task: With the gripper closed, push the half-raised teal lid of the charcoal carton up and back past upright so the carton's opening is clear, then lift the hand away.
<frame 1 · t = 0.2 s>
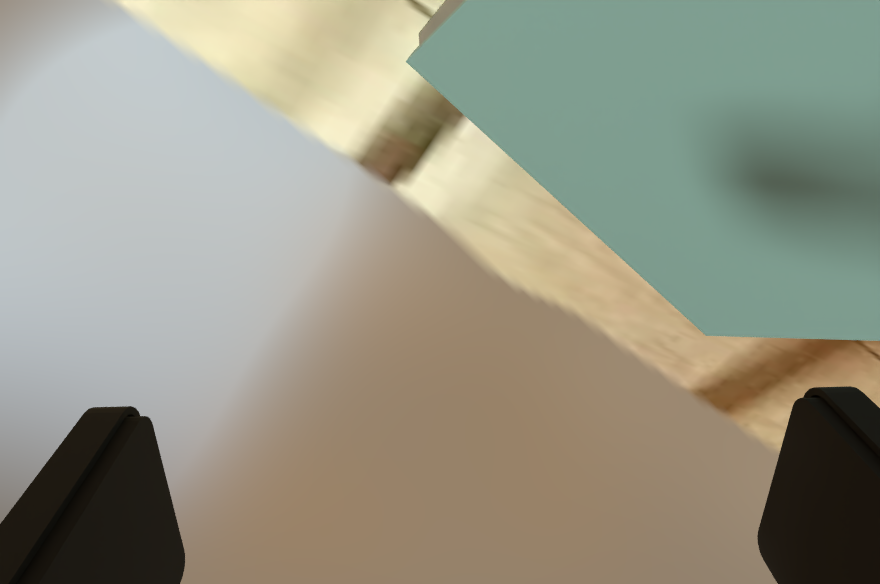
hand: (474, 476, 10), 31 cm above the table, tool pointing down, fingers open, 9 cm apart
lid: (795, 148, 18), point 21 cm above the table, hinge at 55.0°
carton: (660, 3, 36), on the table
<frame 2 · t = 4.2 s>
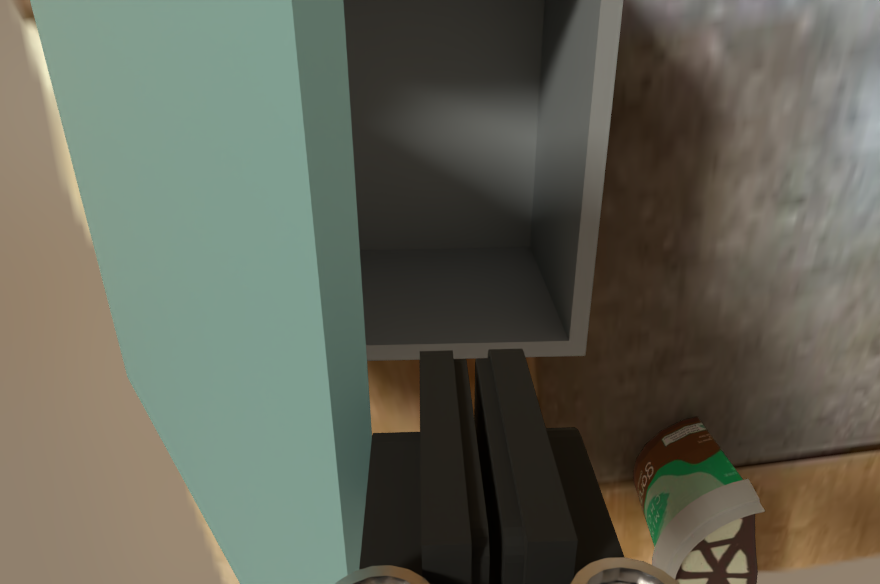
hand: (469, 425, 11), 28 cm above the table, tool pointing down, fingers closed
food container: (657, 472, 49), on the table
lid: (159, 255, 17), point 21 cm above the table, hinge at 55.6°, touching gripper
carton: (371, 107, 36), on the table
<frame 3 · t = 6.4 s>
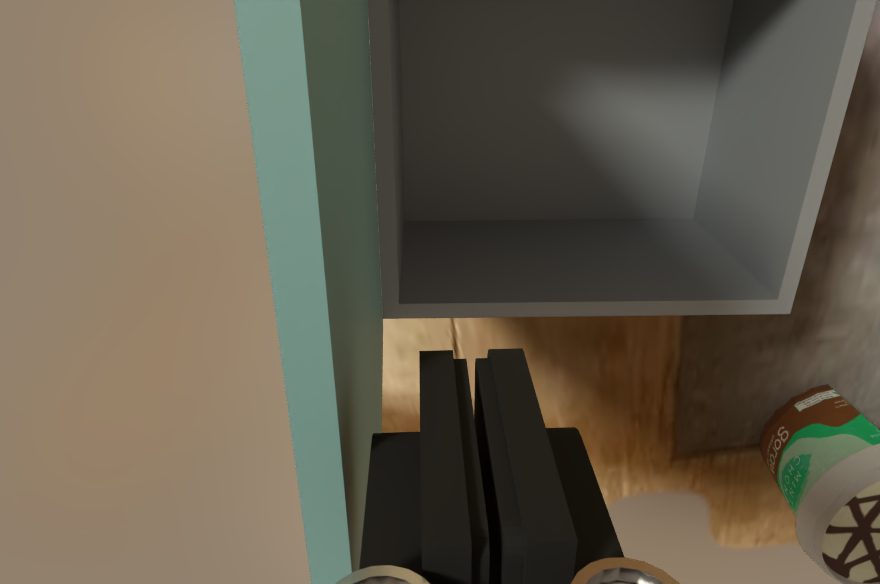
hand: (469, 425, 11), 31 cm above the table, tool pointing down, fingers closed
food container: (782, 437, 51), on the table
lid: (356, 222, 18), point 23 cm above the table, hinge at 87.0°, touching gripper
carton: (557, 84, 38), on the table
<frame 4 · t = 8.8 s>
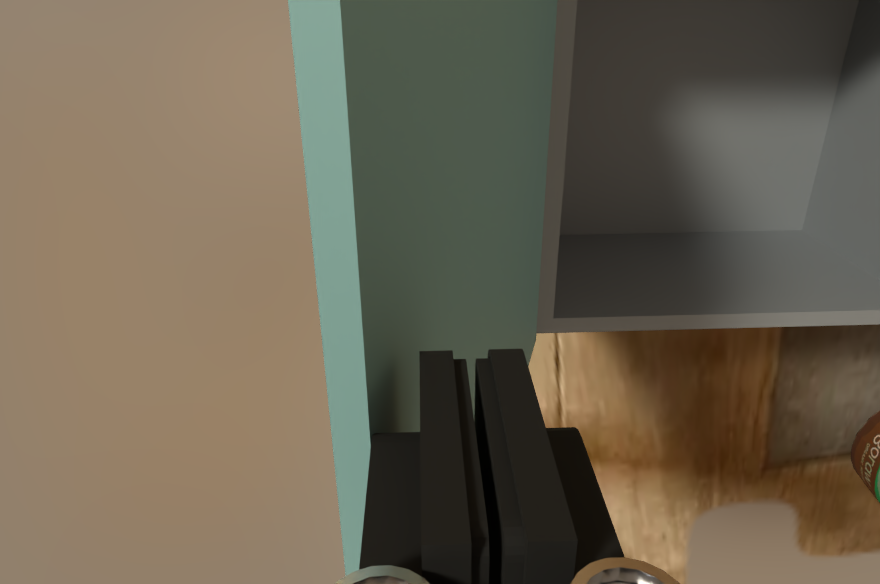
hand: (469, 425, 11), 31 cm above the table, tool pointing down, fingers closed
food container: (873, 445, 52), on the table
lid: (492, 234, 19), point 22 cm above the table, hinge at 107.6°, touching gripper
carton: (675, 99, 39), on the table
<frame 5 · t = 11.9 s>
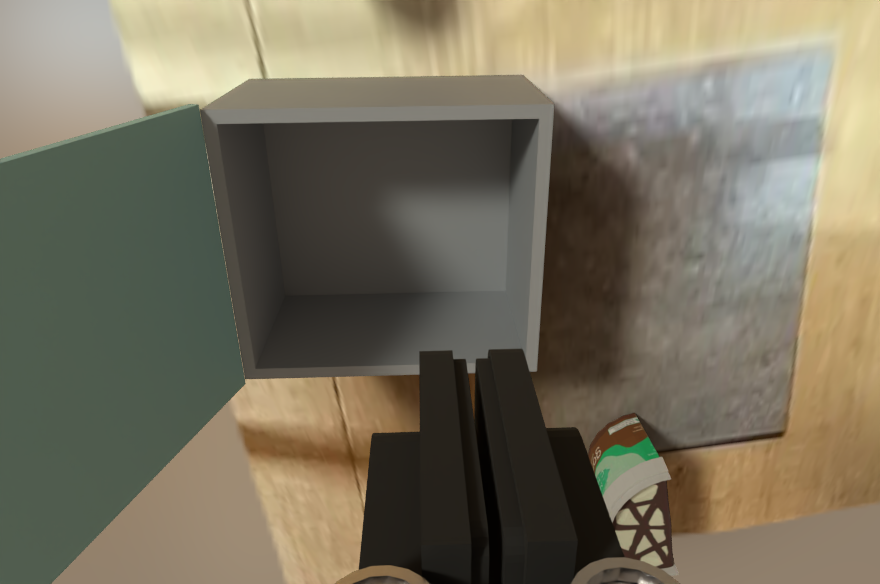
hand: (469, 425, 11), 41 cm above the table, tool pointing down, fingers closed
food container: (607, 455, 64), on the table
lid: (97, 340, 31), point 22 cm above the table, hinge at 107.7°
carton: (392, 195, 52), on the table
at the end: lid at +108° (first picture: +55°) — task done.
